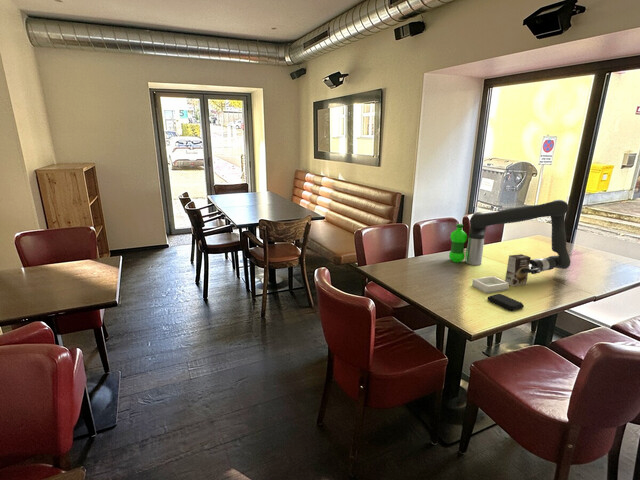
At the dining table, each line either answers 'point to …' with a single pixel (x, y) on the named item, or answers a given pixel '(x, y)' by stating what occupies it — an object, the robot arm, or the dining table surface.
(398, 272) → the dining table surface
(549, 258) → the robot arm
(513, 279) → the coffee box
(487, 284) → the white rectangular tray
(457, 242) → the plastic bottle
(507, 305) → the carrying case or bag
